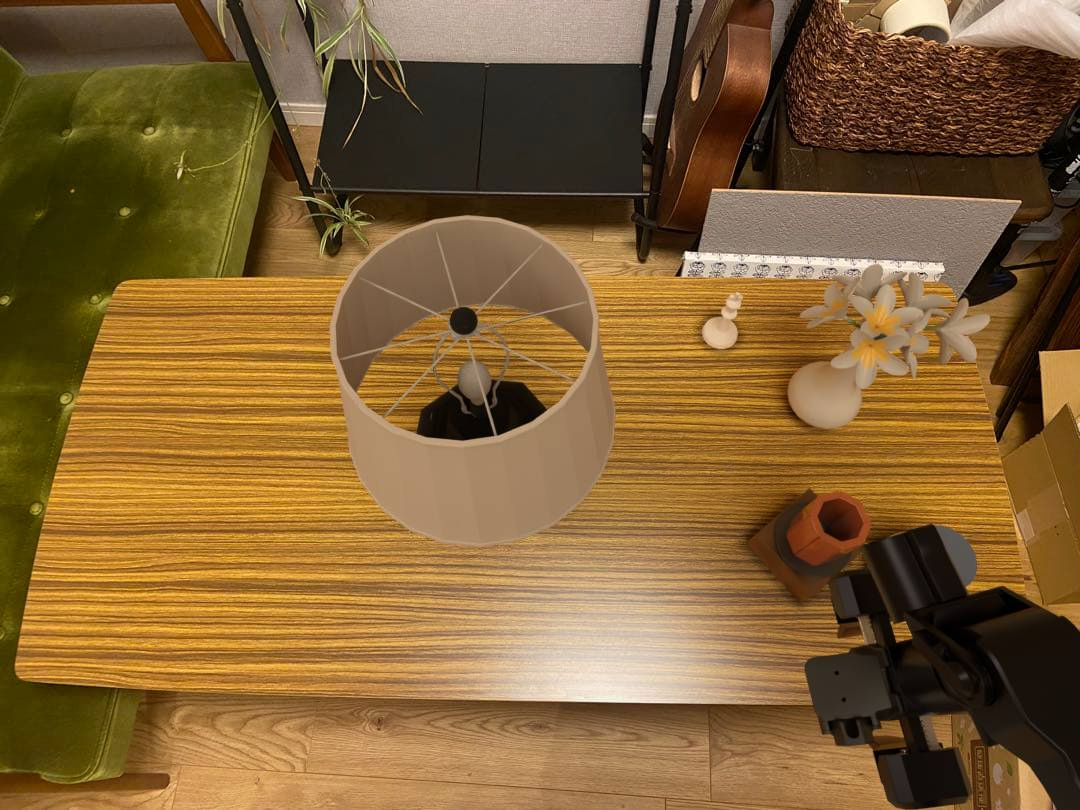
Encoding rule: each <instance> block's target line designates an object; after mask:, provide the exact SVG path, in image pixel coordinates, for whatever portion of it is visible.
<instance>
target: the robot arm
mask: <svg viewBox="0 0 1080 810" xmlns="http://www.w3.org/2000/svg"><path fill="white" fill-rule="evenodd" d="M935 525H936V524H933V523H929V524H924V525H922V526H921V525H920V526H918V527H914V528H909V529H908V530H906V532H905V531H903V532H904V533H901V534H898V535H895V536H892V535H891V536H892V537H890V536H888V537H885V538H881V539H877V540H874V541H870V542H867V543H865V544H864V545H863V546H861V547H860V551H861V553H860V554H861V556H862V557H863V560H864V563H865V564H866V566H868V568H867V567H866V568H865V567H864V568H857V569H849V570H842V571H841V572H838V573H836V574H834V575H833V576H831V578H830V579H829V581H828V584H827V587H828V589H829V590H828V591H829V593H830V601H831V605H832V609H833V612H834V616H835V620H836V623H837V625H839V626H838V628H837V632H836V637H837V639H838V640H840V639H848V638H849V639H850V638H853V637H858V636H862V637H863V642H864V644H861V645H860V646H855V647H851V648H849V650H848V652H842V653H835V654H828V655H821V656H812V657H810V658H808V659H807V660H806V662H805V663H804V667H803V669H804V674H805V678H806V679H805V680H806V684H807V687H808V691H809V695H810V699H811V703H812V708H813V710H814V713H815V714H816V717H817V720H818V725H819V728H820V732H821V735H822V736H825V735H826V736H827V735H831V736H832V737H833V740H834V744H835V746H837V747H854V746H855V747H857V746H865V745H868V746H869V748H871V750H872V756H873V758H874V762H875V766H876V770H877V772H878V776H879V780H880V782H881V785H882V786H883V790H884V794H885V797H886V800H887V802H889V803H890V804H891V805H892V806H893V807H894V808H896V809H899V810H922V809H923V810H925V809H933V808H940V807H949V806H957V805H963V804H966V803H968V802H969V801H970V799H971V798H972V796H973V795H974V791H973V787H972V783H971V781H970V778H969V775H968V771H967V769H966V766H965V763H964V760H963V756H962V754H961V751H960V747H959V746H948V747H947V746H946V747H944V745H943V743H942V742H939V740H938V737H937V734H936V731H935V728H934V724H933V721H932V718H931V717H936V716H961V715H969V716H970V718H971V720H972V723H973V725H974V727H975V729H976V731H977V734H978V736H979V738H980V740H981V742H982V744H983V745H984V746H985V747H987V748H993V747H997V746H1001V747H1002V748H1004V749H1005V750H1006V751H1008V752H1009V753H1011V754H1012V755H1013V756H1015V757H1017V759H1019V760H1020V761H1021V762H1023V763H1024V764H1026V765H1027V766H1028V767H1029V769H1030V770H1031V771H1032V773H1033V774H1034V775H1035V777H1036V778H1037V780H1038V781H1039V783H1040V784H1041V786H1042V787H1043V789H1044V791H1045V792H1046V794H1047V796H1048V798H1049V799H1050V800H1051V803H1052V804H1053V806H1054V807H1055V809H1056V810H1080V629H1079V628H1078V627H1077V626H1076V625H1075V624H1074V623H1073V621H1071V620H1070V619H1069V618H1068V617H1066V616H1065V615H1057V614H1055V613H1054V612H1052V611H1050V610H1047V609H1046V608H1044V607H1042V606H1041V605H1038V604H1037V603H1035V602H1033V601H1032V600H1030V599H1028V598H1026V597H1025V596H1023V595H1021V594H1019V593H1017V592H1016V591H1014V590H1012V589H1011V588H1008V587H1007V586H1005V585H1000V586H996V587H992V588H988V589H985V590H982V591H978V592H974V593H971V594H970V592H969V591H968V589H967V587H966V586H965V584H964V582H963V580H962V578H961V576H960V574H959V572H958V570H957V568H956V566H955V564H954V562H953V560H952V558H951V556H950V555H949V553H948V551H947V549H946V547H945V545H944V543H943V541H942V539H941V537H940V535H939V533H938V531H937V529H936V527H935ZM891 622H892V623H891ZM904 622H905V623H906V626H907V628H908V630H909V632H910V635H911V637H912V638H908V639H904V640H901V641H897V639H896V636H895V633H894V628H893V626H892V624H893V625H897V624H901V623H904ZM893 721H898V722H899V726H900V728H901V732H902V736H903V737H902V736H901V737H900V736H895V735H888V734H887V735H886V734H885V735H874V733H873V732H874V731H875V730H882V729H883V726H882V723H881V722H893Z"/></svg>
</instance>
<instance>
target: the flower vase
mask: <svg viewBox="0 0 1080 810" xmlns="http://www.w3.org/2000/svg"><path fill="white" fill-rule="evenodd" d="M883 273H884V268H883V266H882V265H881V264H878V263H875V264H871V265H869V266H868V267H866V268H865V269H864V270H863V272H862V273H861V276H857V277H855V276H852V275H849V274H848V275H845V274H836V275H833V276H832V280H833V281H834V282H833V283H831V284H829V285H828V286H827V288H825V290H824V293H823V302H824V304H825V305H821V304H817V305H814V306H813V305H812V306H811V307H808V308H806V309H805V310H803V311H802V312H801V313H800V314H799V318H801V319H812V320H811V321H809V323H807V325H806V328H805V329H806V330H808V329H812V328H814V327H816V326H819V325H821V324H824V323H828V322H832V321H835V320H839V319H842V320H843V321H844V322H846V323H848V324H849V325H851V326H853V327H854V330H853V331H852V332H851V334H850V336H849V340H850V341H849V342H850V343H849V345H848V346H847V347H846V349H844V351H843V352H842V353H841V354H839V355H837V356H835V357H833V358H832V359H831V361H827V360H824V361H823V360H819V361H813V362H809V363H807V364H805V365H803V366H801V367H800V368H798V369H797V370H796V371H795V373H794V374H792V376H791V377H790V380H789V382H788V385H787V391H786V392H787V393H786V395H787V400H788V402H789V405H790V407H791V410H792V412H793V413H794V414H795V415H796V416H797V417H798V418H799V419H800V420H801V421H802V422H804V423H805V424H806V425H809V426H810V427H811V426H812V427H813V428H818V429H821V430H835V429H841V428H843V427H845V426H847V425H848V424H850V423H852V422H853V421H854V420H855V418H856V417H857V416H858V414H859V412H860V410H861V408H862V405H863V391H862V389H863V390H864V389H867V388H869V387H870V386H871V385H872V384H873V383H874V382H875V380H876V378H877V374H878V367H879V369H880V370H882V371H883V372H885V373H887V374H890V375H892V376H898V377H899V376H905V375H907V374H908V373H909V372H910V375H911V377H912V379H913V380H915V379H916V377H917V372H918V361H917V357H916V355H915V354H917V355H924V354H926V353H927V352H928V350H929V347H930V340H929V338H928V337H927V336H926V335H924V334H919V333H921V332H922V331H934V334H935V336H937V337H938V339H939V352H938V362H939V364H940V365H941V366H944V365H946V364H947V363H949V361H950V360H951V358H952V356H953V350H954V351H955V353H956V354H957V355H958V356H960V357H961V359H963V360H964V361H965V362H968V363H972V362H975V361H976V359H977V358H978V357H977V356H978V353H977V348H976V345H975V343H974V342H973V341H972V339H970V338H969V337H968V335H973V334H975V333H978V332H980V331H982V330H983V329H985V328H986V327H987V326H988V325H989V323H990V321H991V316H990V315H989V314H988V313H976V314H974V315H970V316H967V313H968V310H969V299H967V298H966V297H963V298H961V299H960V300H959V301H958V302H957V303H956V305H955V307H954V308H953V310H952V312H951V314H950V315H949V313H947V312H946V311H944V310H942V309H941V308H943V307H944V308H945V307H949V306H951V305H952V304H953V303H952V300H951V299H949V298H948V297H946V296H944V295H941V294H937V293H928V294H925V285H924V282H923V280H922V279H921V277H920V276H919V275H918V274H917V273H916V272H913V271H911V272H909V274H908V272H907V271H899V272H895V273H891V274H889V275H886V276H885V277H883ZM907 275H908V281H907V282H908V283H907V282H906V281H905V279H904V277H906V276H907ZM882 277H883V278H882ZM896 282H897V284H898V286H899V289H900V292H901V294H902V297H903V300H904V304H905V306H904V307H900V308H899V307H898V308H897V309H895V306H896V303H897V294H896V290H895V289H894V287H893V286H892V285H893V284H894V283H896ZM837 283H838V284H837ZM839 284H840V285H842V286H843V287H840V285H839ZM924 294H925V295H924ZM923 295H924V296H923ZM875 297H876V298H875ZM873 298H875V301H874V305H873V303H872V299H873ZM850 304H851V305H852V308H854V309H855V310H856V312H858V313H859V314H860V315H861V316H862V317H863V318H862V319H860V320H859V321H858V322H856V321H854V320H853V319H852V318H850V317H849V316H847V312H848V308H849V305H850ZM894 309H895V310H894ZM932 315H933V316H937V317H940V318H941V317H942V318H945V320H941V321H938V322H937V323H936V324H935V325H928V323H929V321H930V319H931V318H932V317H931V316H932ZM965 316H966V317H965ZM910 324H911V325H910ZM906 325H909V327H907V328H906V329H905V328H903V327H902V326H906ZM965 335H967V336H965ZM898 350H899V351H900V353H901V355H902V356H903V358H904V360H905V362H904V361H903V360H902V359H900V358H899V357H897V356H896V355H894V354H892V353H893V352H896V351H898Z"/></svg>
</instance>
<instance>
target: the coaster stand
mask: <svg viewBox="0 0 1080 810" xmlns="http://www.w3.org/2000/svg"><path fill="white" fill-rule="evenodd" d="M818 496H819V495H817V493H815V492H814V491H813V490H812V489H811V488H810V487H809V488H808V489H807V490H805V491H804V492H803V493H802V494H801V495H799V496H798V498H796V499H795V500H794V501H793V502H791V503H790V504H789V505H788V506H787V507H786V508H785V509H783V510H782V511H781V512H780V513H778V515H776V516H775V517H774V518H773V519H772V520H770V522H768V523H767V524H766V525H765V526H763V527H762V528H761V529H760V530H759V531H758V532H757V533H756V534H754V535H753V537H751V538H750V539H749V540H748V541H747V542H746V543H745V545H746V546H747V547H748V548H749V550H751V552H752V553H753V554H754V555H755V556H756V557H757V558H758V559H759V561H761V562H762V563H763V565H764V566H765V567H766V568H767V569H768V570H769V571H770V572H771V573H772V574H773V575H774V577H775V579H777V580H778V581H779V582H780V583H781V584H782V586H784V587H785V589H786V590H787V591H788V592H789V593H790V594H791V595H792V596H793V597H794V598H795V599H796V601H797V602H798V603H799V604H801V603H803V602H805V601H807V600H808V599H811V598H812V597H815V596H816V594H818V593H819V592H820V591H822V589H823V588H824V587H826V586H827V585H828V581H829V579H830V578H831V576H833V575H834V574H836V573H838V572H842V571H844V569H845V568H846V567H847V566H849V564H851V563H852V562H853V560H855V559H856V558H857V557H858V556H859V555H860V554H862V553H861V551H860V547H861V546H863V545H864V544H866V543H865V542H864V543H863V544H862V545H861V546H859V547H857V548H856V549H854V550H852V551H850V552H849V553H847V554H845V555H844V556H842V557H840V558H838V559H837V560H835V561H833V562H829V563H825V564H821V565H818V566H815V565H814V566H813V565H811V564H809V563H808V562H806V561H804V560H802V559H800V558H798V557H797V556H795V554H793V551H792V549H791V546H790V544H789V541H788V539H787V536H786V535H787V534H786V532H787V530H788V528H789V526H790V524H791V522H792V519H793V517H795V516H796V515H797V514H798V513H799V512H800V511H802V510H803V509H804V508H805V507H806V506H807V505H809V504H810V503H811V502H812V501H813V500H815V499H816V498H817V497H818ZM820 523H821V526H822V528H823V530H824V533H826V534H828V535H830V536H831V537H833V535H832V533H831V530H830V528H829V526H827V525H825V524H823V523H822V522H820ZM833 538H834V537H833Z"/></svg>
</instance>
